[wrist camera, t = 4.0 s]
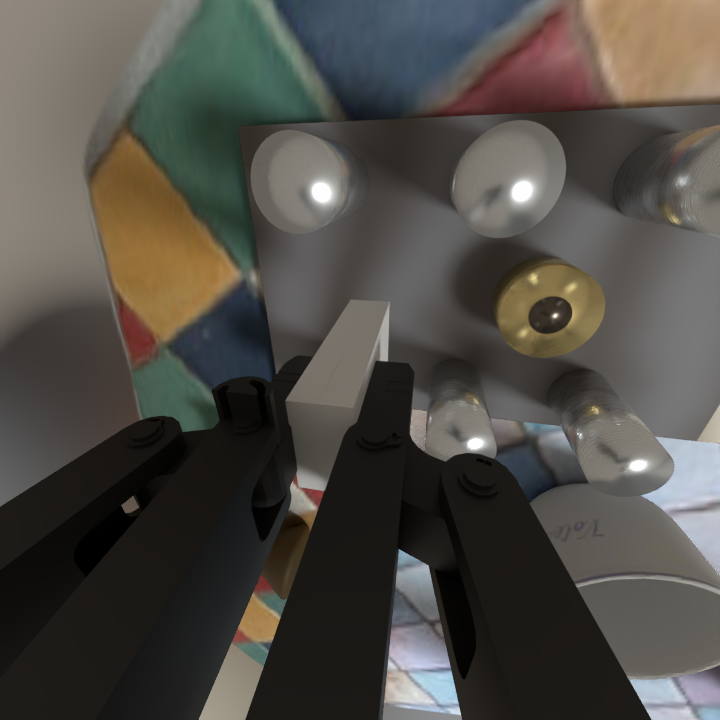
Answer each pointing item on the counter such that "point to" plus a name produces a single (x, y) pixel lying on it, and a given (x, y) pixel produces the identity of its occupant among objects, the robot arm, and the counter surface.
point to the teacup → (637, 579)
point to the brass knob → (547, 307)
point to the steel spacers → (505, 219)
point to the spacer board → (506, 267)
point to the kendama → (285, 559)
